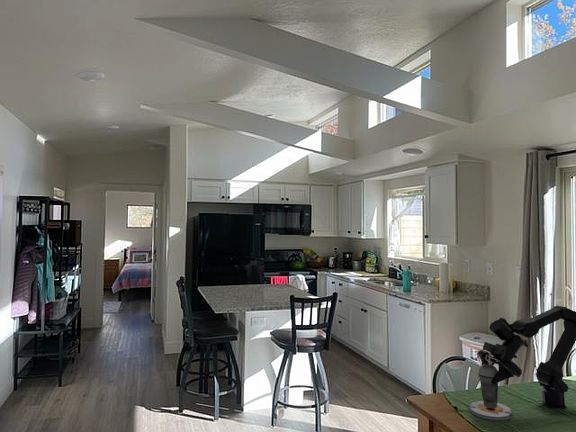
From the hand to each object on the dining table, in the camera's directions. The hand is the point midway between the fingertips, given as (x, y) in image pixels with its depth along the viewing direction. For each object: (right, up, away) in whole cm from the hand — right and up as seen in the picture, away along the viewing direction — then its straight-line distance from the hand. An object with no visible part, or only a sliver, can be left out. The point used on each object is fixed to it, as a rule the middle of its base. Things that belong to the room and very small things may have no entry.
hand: (485, 380), depth 160 cm
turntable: (+2, -12, 0) cm, 12 cm away
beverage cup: (+2, -10, 0) cm, 10 cm away
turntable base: (+2, -12, 0) cm, 12 cm away
